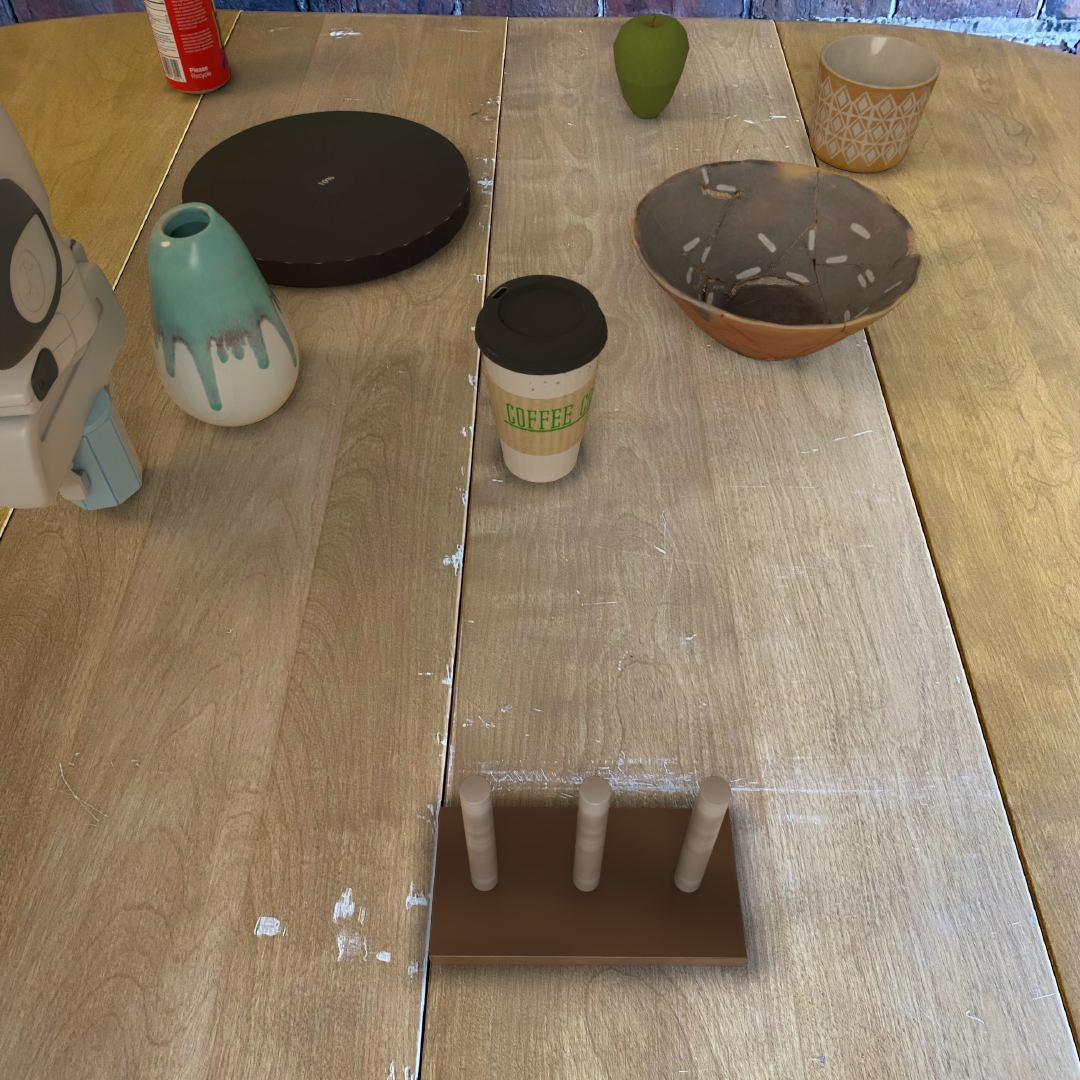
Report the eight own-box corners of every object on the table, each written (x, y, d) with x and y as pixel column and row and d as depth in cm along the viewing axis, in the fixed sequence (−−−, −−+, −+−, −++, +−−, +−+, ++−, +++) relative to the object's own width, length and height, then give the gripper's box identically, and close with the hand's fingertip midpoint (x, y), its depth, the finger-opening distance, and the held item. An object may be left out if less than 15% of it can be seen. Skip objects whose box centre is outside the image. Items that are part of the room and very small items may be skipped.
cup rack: (743, 966, 57) (789, 880, 46) (430, 964, 57) (406, 877, 47) (725, 818, 63) (763, 711, 52) (441, 816, 63) (422, 709, 52)
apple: (673, 94, 123) (683, -5, 114) (688, 128, 117) (701, 27, 108) (604, 98, 122) (609, -1, 113) (616, 133, 116) (623, 32, 108)
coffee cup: (558, 517, 79) (562, 372, 67) (458, 467, 82) (445, 322, 70) (620, 443, 84) (634, 297, 72) (524, 400, 87) (522, 254, 76)
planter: (816, 114, 119) (836, 24, 111) (922, 137, 116) (950, 46, 108) (787, 165, 112) (807, 72, 104) (899, 190, 109) (928, 97, 101)
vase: (176, 456, 83) (104, 276, 69) (171, 367, 90) (104, 188, 76) (315, 430, 85) (272, 251, 71) (299, 346, 92) (257, 167, 78)
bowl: (593, 267, 100) (598, 176, 92) (819, 232, 104) (842, 142, 96) (677, 438, 84) (691, 346, 77) (939, 389, 88) (977, 297, 80)
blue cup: (64, 515, 76) (23, 440, 70) (68, 463, 80) (30, 387, 74) (142, 502, 77) (108, 427, 71) (142, 451, 81) (110, 375, 75)
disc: (293, 112, 119) (289, 87, 117) (517, 169, 111) (516, 143, 109) (129, 242, 102) (119, 216, 100) (379, 321, 94) (375, 295, 92)
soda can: (162, 99, 121) (122, -33, 110) (176, 69, 126) (140, -61, 115) (226, 99, 121) (193, -34, 110) (238, 69, 126) (207, -61, 115)
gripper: (27, 223, 73) (91, 369, 83) (-88, 414, 59) (6, 559, 70) (112, 224, 73) (166, 370, 83) (17, 415, 59) (95, 559, 70)
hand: (92, 458), depth 77 cm, fingers closed on blue cup, 6 cm apart
